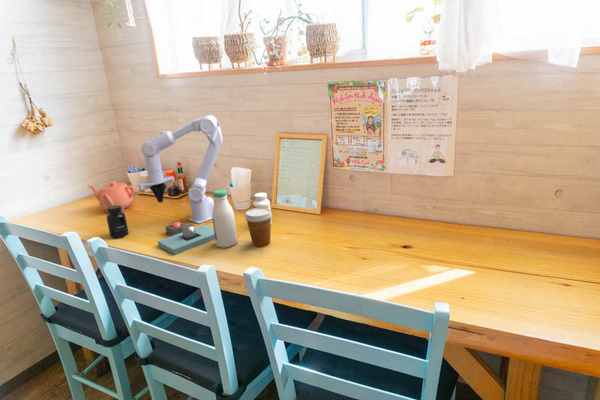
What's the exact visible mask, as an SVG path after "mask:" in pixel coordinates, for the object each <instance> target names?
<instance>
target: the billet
mask: <svg viewBox="0 0 600 400" xmlns="http://www.w3.org/2000/svg"><path fill="white" fill-rule="evenodd" d="M194 228H195V224H193V223H191V224H190V223H188V224H186V225H184V226H182V232H183V238H184V240H186V241H189V240H191V239H194V238H196V235H195V229H194Z"/></svg>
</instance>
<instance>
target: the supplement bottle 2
mask: <svg viewBox="0 0 600 400" xmlns="http://www.w3.org/2000/svg"><path fill="white" fill-rule="evenodd" d="M267 197H268V195H267V193H266V192H257V193H255V194H254V199H255V200H254V201H253V204H252V205H253V209H254V208H268V209H270V211H271V212H272V209H271V201H270V200H269V199H268V198H267ZM272 224H273V220H272V217H271V225H272Z"/></svg>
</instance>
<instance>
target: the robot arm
mask: <svg viewBox="0 0 600 400" xmlns="http://www.w3.org/2000/svg"><path fill="white" fill-rule="evenodd" d="M192 132H195V133H196V132H197V133H200V132H201V133H203V134H204V135H205V136H206V138H207V139H208V141H209V144H208V146H207V148H206V152H205V155H204V157H203V159H202V163H201V165H200V166H199V167H200V168H199V170H198V173H197V175H196V178H195V180H194V182H193V183H192V184H191V186H190V188H189V189H188V192H187V198H188V199H189V205H190V211H191V217H190V218H188V220H189V221H191V222H193V223H196V224H197V225H199V224H202V223H204V222H208V221H210V220H213V219H212V211H213V207H214V203H215V200H214V199H213V198H212V197H211V196H207V195H206V192H207V183H208V181H209V178H210V175H211V172H212V170H213V167H214V165H215V162H216V160H217V157H218V154H219V152H220V149H221V147H222V144H223V140H224V139H223V135H222V130H221V124H220V122H219V121H218V119H217V117H216V116H214V115H213V114H207V115H205V116H204V117H201V116H200V117H199V118H196V119H193V120H191V121H190V122H188V123H186V124H185V125H182V126H181V127H179V128H177V129H175V130H172V131H169V130H166V131H165V130H163V131H160V134H158V135H157V136H154V137H150V139H149V140H147V141H145V142H144V143H143V144H142V145H141V147H140V150H141V153H142V154H143V156H144V161H145V167H146V171H147V178H148V180H147V181H145V182H142V183H139V184H138V189H139V190H140V191H142V190H144V189H148V188H149V189H150V190H151V192H152V193H153V194H154V196H155V198H156V200H157V202H158V203H163V202H164V193H165V191H166V188H167V183H170V182H175V177H174V176H166V177H164V173H163V167H162V163H161V158H160V152H161V151H163V150H165V149H168V148H170V147H172V146H173V145H175V144H176V141H177V139H180V138H181V137H183V136H185V135H187V134H189V133H192Z"/></svg>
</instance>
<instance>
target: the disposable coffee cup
mask: <svg viewBox="0 0 600 400" xmlns="http://www.w3.org/2000/svg"><path fill="white" fill-rule="evenodd" d="M272 216H273V213H272V210H271V211H270V209H268V208H254V207H253V208H251V209H249V210H247V211H246V212H245V215H244V218H245V220H246V223H247V227H248V231H249V235H250V238H251V243H252V246H254V247H256V248H257V247H258V248H262V247H266V246H269V245H270V244H271V229H272V228H271V227H272V224H271V218H272Z"/></svg>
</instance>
